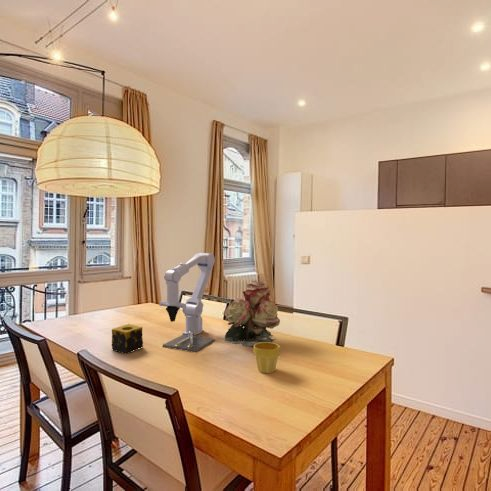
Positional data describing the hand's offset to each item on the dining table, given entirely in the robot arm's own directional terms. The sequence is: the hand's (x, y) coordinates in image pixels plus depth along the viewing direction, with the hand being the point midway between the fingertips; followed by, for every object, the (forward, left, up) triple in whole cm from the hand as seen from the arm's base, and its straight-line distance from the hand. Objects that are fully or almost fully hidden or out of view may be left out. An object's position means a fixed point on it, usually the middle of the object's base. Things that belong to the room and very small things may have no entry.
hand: (172, 321), depth 177 cm
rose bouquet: (-17, +37, -10) cm, 42 cm away
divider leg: (+2, +12, -8) cm, 14 cm away
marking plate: (+2, +11, -9) cm, 14 cm away
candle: (+20, -11, -10) cm, 25 cm away
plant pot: (+17, +56, -10) cm, 59 cm away
